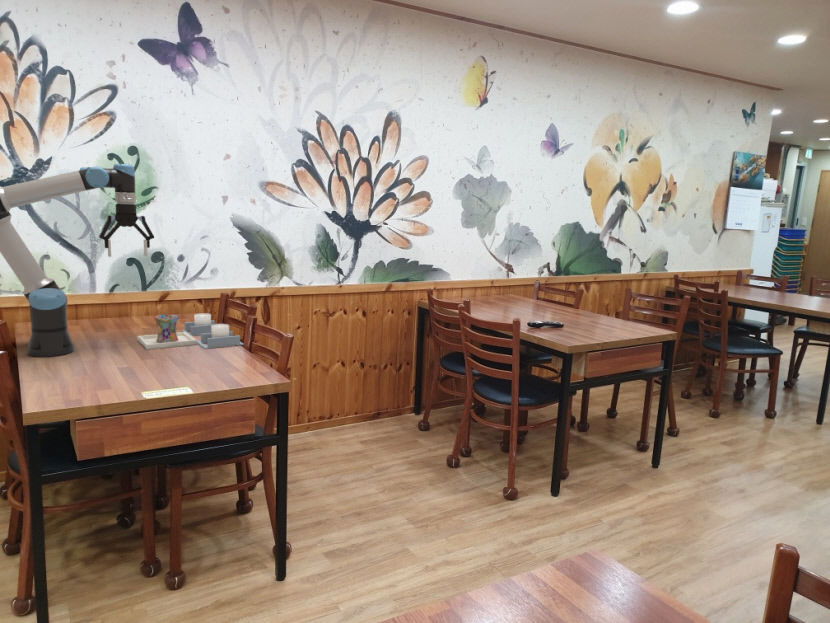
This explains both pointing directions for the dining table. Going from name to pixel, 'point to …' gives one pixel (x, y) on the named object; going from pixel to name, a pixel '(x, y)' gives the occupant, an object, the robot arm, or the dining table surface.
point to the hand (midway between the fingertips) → (128, 256)
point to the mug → (166, 328)
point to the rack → (210, 336)
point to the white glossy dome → (202, 319)
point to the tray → (151, 343)
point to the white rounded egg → (219, 330)
